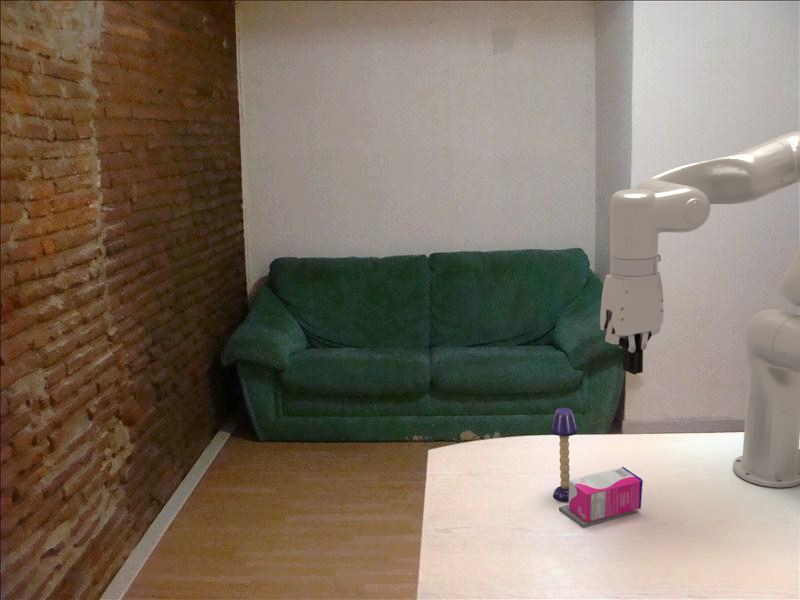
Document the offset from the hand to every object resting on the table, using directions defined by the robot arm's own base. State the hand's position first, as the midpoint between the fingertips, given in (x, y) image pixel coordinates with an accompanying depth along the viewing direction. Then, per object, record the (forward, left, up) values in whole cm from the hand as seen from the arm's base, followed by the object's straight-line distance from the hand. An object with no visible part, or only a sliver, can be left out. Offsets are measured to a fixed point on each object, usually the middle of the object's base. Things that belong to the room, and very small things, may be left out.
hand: (632, 371), depth 147 cm
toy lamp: (+7, -9, -26) cm, 28 cm away
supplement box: (-1, 0, -22) cm, 22 cm away
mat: (+6, -2, -25) cm, 26 cm away
